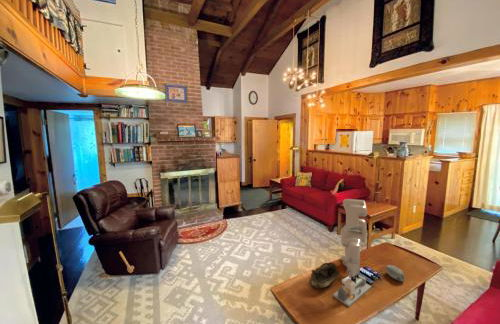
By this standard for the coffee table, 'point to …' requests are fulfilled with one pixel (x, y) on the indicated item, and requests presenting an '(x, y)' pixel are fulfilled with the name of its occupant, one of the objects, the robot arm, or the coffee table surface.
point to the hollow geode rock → (323, 275)
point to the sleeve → (350, 286)
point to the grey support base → (359, 292)
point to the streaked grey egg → (395, 273)
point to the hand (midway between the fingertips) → (353, 282)
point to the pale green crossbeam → (355, 285)
